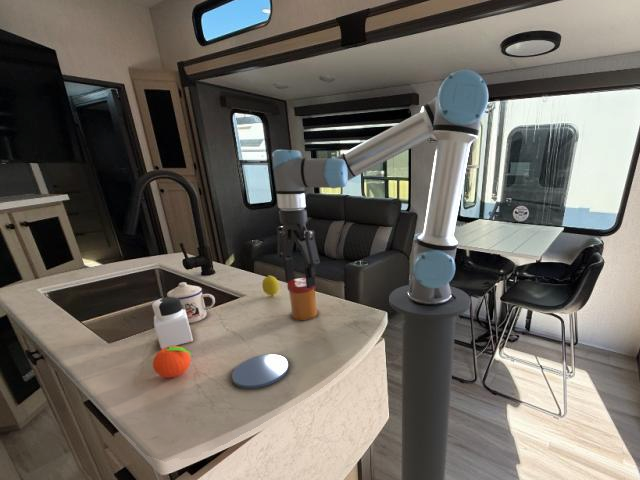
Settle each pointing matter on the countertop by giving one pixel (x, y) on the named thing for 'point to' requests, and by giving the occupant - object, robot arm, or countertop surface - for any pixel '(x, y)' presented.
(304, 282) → the lid
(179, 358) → the clementine
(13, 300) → the countertop surface
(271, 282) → the lemon
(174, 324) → the medicine bottle
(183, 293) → the teacup with lid
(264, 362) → the saucer
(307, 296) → the jar
